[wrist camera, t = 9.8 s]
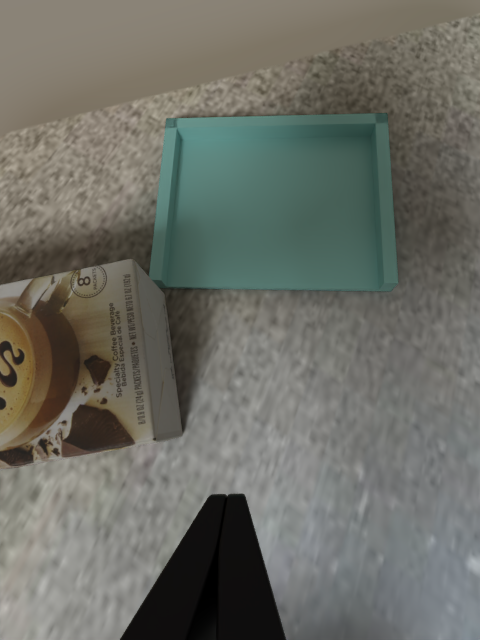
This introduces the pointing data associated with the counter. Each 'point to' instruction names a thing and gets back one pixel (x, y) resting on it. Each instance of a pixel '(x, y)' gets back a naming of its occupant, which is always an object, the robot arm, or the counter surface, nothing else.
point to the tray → (276, 204)
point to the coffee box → (84, 365)
